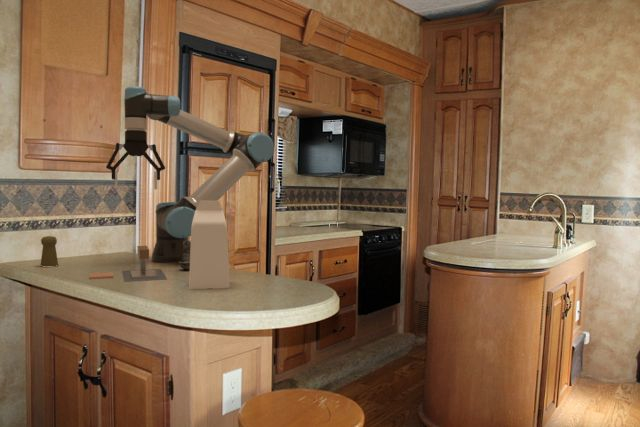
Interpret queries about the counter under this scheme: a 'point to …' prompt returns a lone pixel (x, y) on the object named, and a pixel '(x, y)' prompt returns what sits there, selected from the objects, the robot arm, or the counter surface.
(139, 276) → the trowel
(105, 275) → the tile
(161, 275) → the mat
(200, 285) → the milk
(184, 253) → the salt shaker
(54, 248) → the cork
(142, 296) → the counter surface
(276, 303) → the counter surface
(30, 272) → the counter surface
